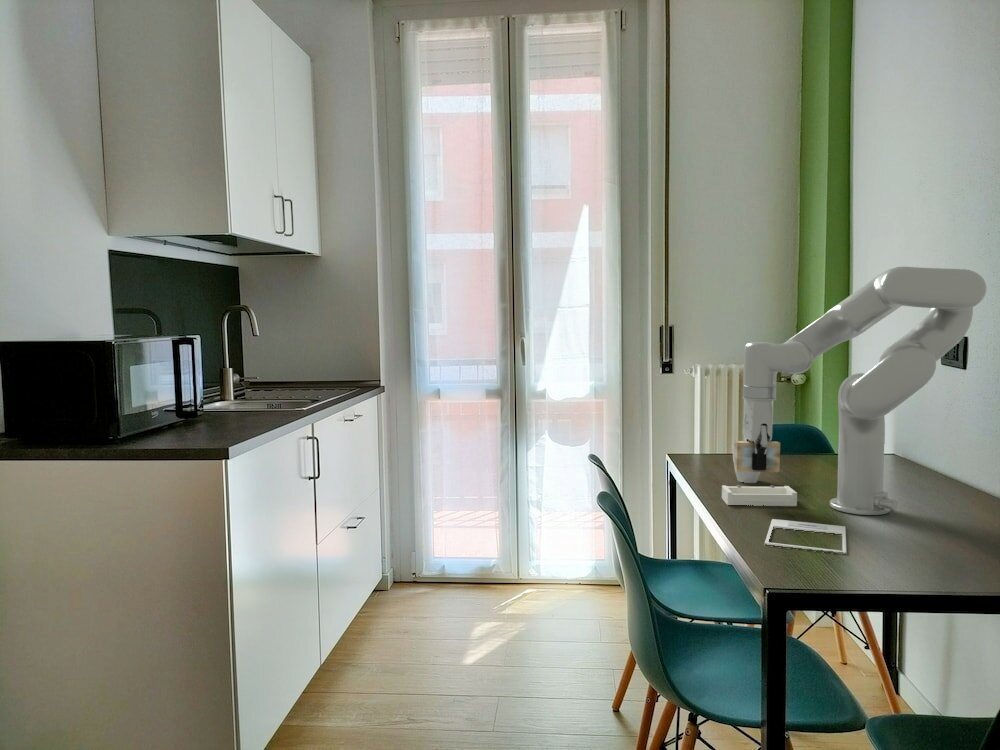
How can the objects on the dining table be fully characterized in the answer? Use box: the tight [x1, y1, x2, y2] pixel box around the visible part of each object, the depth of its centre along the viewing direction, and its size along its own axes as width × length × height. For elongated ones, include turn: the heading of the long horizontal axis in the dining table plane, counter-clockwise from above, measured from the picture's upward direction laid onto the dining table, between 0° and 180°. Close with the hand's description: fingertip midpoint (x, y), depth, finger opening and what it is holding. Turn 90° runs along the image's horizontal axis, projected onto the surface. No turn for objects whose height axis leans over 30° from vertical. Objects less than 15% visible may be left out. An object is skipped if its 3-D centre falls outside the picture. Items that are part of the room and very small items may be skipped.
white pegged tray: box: [721, 484, 798, 507], centre depth 173 cm, size 16×7×3 cm, turn 84°
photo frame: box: [764, 518, 847, 554], centre depth 146 cm, size 15×1×18 cm
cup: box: [732, 442, 761, 484], centre depth 194 cm, size 8×8×10 cm
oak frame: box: [734, 440, 781, 473], centre depth 172 cm, size 10×3×7 cm, turn 84°
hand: (757, 467), depth 172 cm, fingers closed on oak frame, 2 cm apart
